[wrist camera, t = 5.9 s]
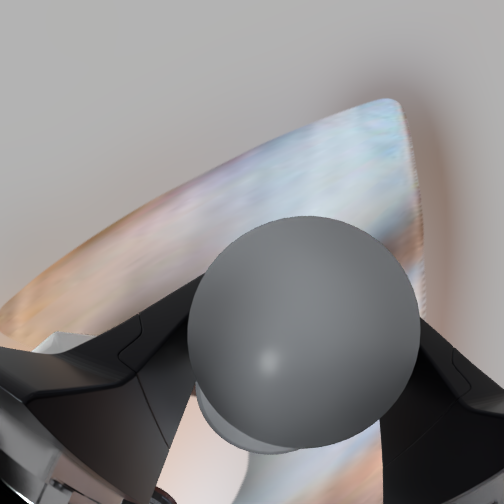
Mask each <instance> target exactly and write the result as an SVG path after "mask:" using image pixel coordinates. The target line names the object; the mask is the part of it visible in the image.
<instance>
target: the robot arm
mask: <svg viewBox="0 0 504 504" xmlns="http://www.w3.org/2000/svg"><path fill="white" fill-rule="evenodd" d="M204 275H205V273H204V274H202V275H201V276H199V277H197V278H196V279H194V280H192V281H191V282H189V283H188V284H186V285H184V286H183V287H181V288H179V289H178V290H176V291H174V292H173V293H171V294H169V295H168V296H166V297H165V298H163V299H161V300H160V301H158V302H156V303H155V304H153V305H151V306H150V307H148V308H147V309H145V310H143V311H142V312H140V313H139V315H138V314H137V315H135V316H133V317H132V318H130V319H128V320H127V321H125V322H123V323H121V324H120V325H118V326H116V327H114V328H112V329H110V330H109V331H107V332H105V333H103V334H101V335H99V336H97V337H95V338H92V339H90V340H88V341H86V342H84V343H82V344H80V345H78V346H76V347H74V348H72V349H70V350H67V351H65V352H61V353H57V354H43V353H36V352H28V351H22V350H16V349H10V348H5V347H0V504H121V503H122V500H123V499H125V500H128V501H131V502H133V503H136V504H149V502H150V500H151V497H152V494H153V492H154V489H155V486H156V484H157V481H158V478H159V476H160V473H161V470H162V468H163V465H164V463H165V460H166V457H167V455H168V452H169V449H170V447H171V444H172V442H173V439H174V436H175V434H176V431H177V429H178V426H179V423H180V421H181V418H182V416H183V413H184V411H185V408H186V405H187V403H188V400H189V398H190V395H191V392H192V390H193V387H194V385H195V382H196V377H195V375H194V373H193V369H192V365H191V361H190V358H189V350H188V342H187V340H188V321H189V314H190V309H191V305H192V302H193V299H194V295H195V293H196V291H197V288H198V286H199V284H200V282H201V280H202V278H203V276H204ZM379 420H380V431H381V444H382V462H383V504H504V389H503V388H501V387H500V386H499V385H498V384H497V383H495V382H494V381H493V380H492V379H491V378H489V377H488V376H487V375H486V374H484V373H483V372H482V371H481V370H480V369H478V368H477V367H476V366H475V365H474V364H472V363H471V362H470V361H469V360H468V359H467V358H466V357H464V356H463V355H462V354H461V353H460V352H459V351H458V350H457V349H456V348H453V346H452V345H451V344H450V343H449V342H448V341H447V340H446V339H445V338H443V337H442V336H441V335H440V334H439V333H438V332H437V331H436V330H434V329H433V328H432V327H431V326H430V325H429V324H428V323H426V322H425V321H424V320H423V319H422V318H421V317H420V343H419V350H418V355H417V359H416V363H415V366H414V369H413V371H412V374H411V376H410V379H409V381H408V383H407V385H406V387H405V389H404V390H403V392H402V393H401V395H400V396H399V398H398V399H397V401H396V402H395V403H394V404H393V405H392V407H391V408H390V409H389V410H388V411H387V412H386V413H385V414H384V415H383V416H382V417H381V418H380V419H379Z"/></svg>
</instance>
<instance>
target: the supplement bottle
mask: <svg viewBox="0 0 504 504" xmlns="http://www.w3.org/2000/svg"><path fill="white" fill-rule="evenodd" d="M121 504H136V503H133V502H131V501H128V500H125V499H123V500H122V503H121ZM149 504H177V503H176V502H175V500H174V499H173V498H172V497H171V496H170V495H169V494H168V493H167V492H165V491H164V490H162V489H160V488H158V487H156V486H155V489H154V492H153V494H152V497H151V500H150V502H149Z"/></svg>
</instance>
